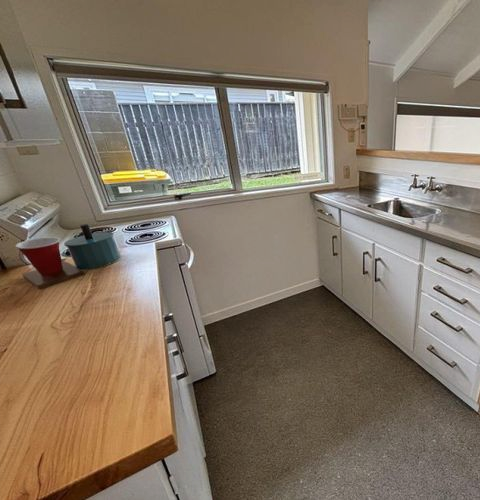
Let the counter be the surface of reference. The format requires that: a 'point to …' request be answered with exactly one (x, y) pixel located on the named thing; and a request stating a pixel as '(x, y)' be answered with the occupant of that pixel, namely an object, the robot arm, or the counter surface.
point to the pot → (95, 254)
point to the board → (53, 276)
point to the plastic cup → (43, 254)
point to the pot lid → (88, 237)
